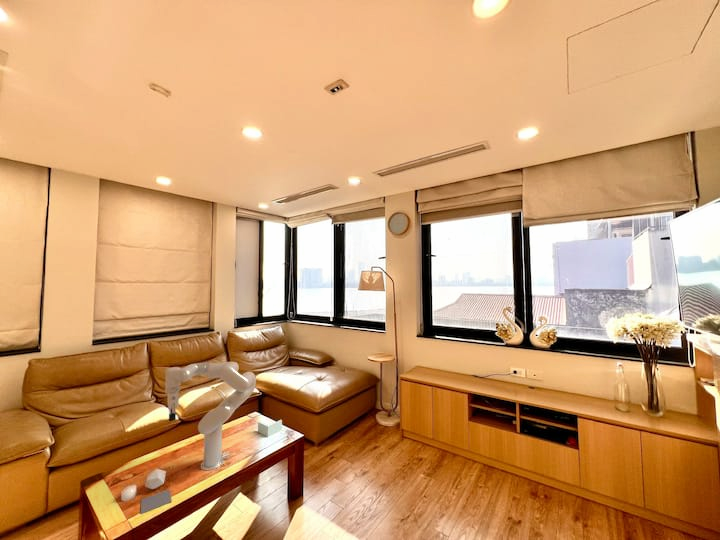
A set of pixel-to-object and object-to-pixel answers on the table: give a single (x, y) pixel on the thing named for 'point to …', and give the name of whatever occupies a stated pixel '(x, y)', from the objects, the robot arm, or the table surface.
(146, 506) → the mat
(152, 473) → the die
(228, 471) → the table surface
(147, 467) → the table surface
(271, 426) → the pale green block
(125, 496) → the white rounded lump
